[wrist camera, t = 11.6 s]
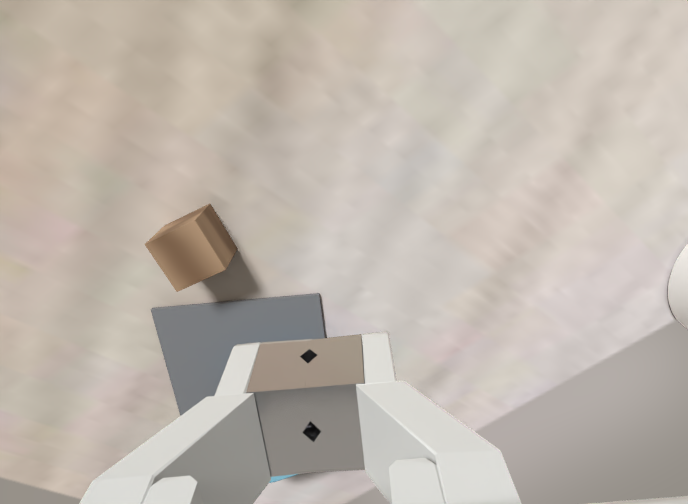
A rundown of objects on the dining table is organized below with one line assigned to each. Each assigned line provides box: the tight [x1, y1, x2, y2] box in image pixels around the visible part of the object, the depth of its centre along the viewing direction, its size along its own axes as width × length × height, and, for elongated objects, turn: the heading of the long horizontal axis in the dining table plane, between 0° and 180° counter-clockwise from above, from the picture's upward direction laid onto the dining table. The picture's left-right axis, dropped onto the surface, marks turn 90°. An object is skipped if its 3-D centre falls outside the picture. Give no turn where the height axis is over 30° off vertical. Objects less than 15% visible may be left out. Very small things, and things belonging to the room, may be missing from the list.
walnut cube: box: [145, 204, 237, 292], centre depth 44 cm, size 5×5×5 cm
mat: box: [151, 293, 325, 415], centre depth 52 cm, size 17×20×1 cm
